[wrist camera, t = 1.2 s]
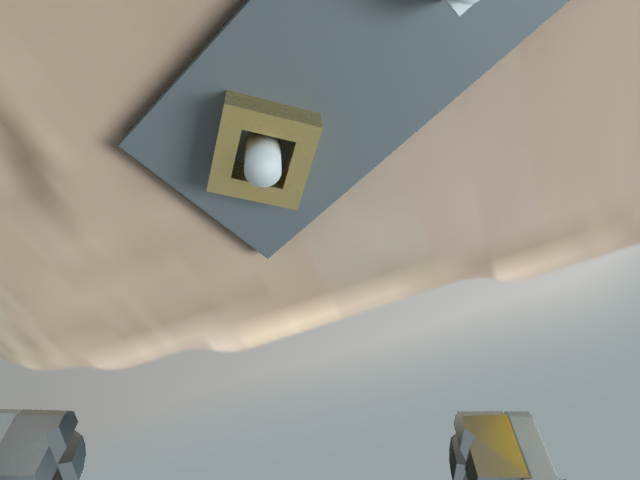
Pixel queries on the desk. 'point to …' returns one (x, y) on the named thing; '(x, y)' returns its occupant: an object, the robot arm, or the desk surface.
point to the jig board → (322, 93)
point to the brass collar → (271, 122)
